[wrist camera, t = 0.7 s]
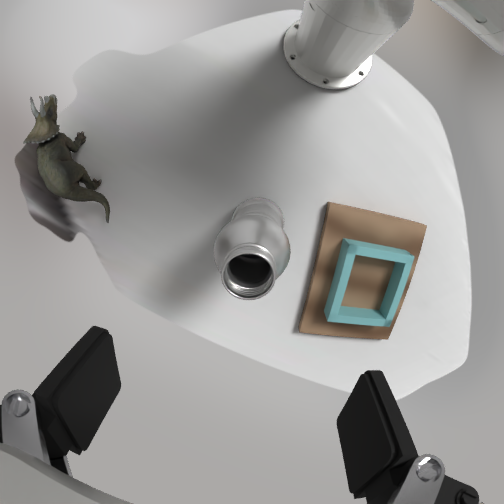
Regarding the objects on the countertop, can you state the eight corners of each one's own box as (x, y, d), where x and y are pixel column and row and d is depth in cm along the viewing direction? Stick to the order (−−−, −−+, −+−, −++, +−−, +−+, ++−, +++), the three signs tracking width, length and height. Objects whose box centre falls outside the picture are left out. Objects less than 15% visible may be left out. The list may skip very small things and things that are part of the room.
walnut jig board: (327, 201, 36) (335, 206, 32) (422, 223, 36) (437, 230, 32) (298, 326, 42) (301, 343, 38) (384, 334, 42) (393, 349, 38)
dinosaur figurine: (126, 214, 38) (83, 232, 27) (90, 235, 40) (47, 257, 29) (83, 97, 32) (38, 87, 22) (50, 125, 34) (6, 123, 23)
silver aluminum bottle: (286, 237, 38) (305, 309, 19) (239, 245, 39) (213, 323, 20) (278, 191, 36) (290, 220, 17) (229, 201, 37) (188, 240, 18)
